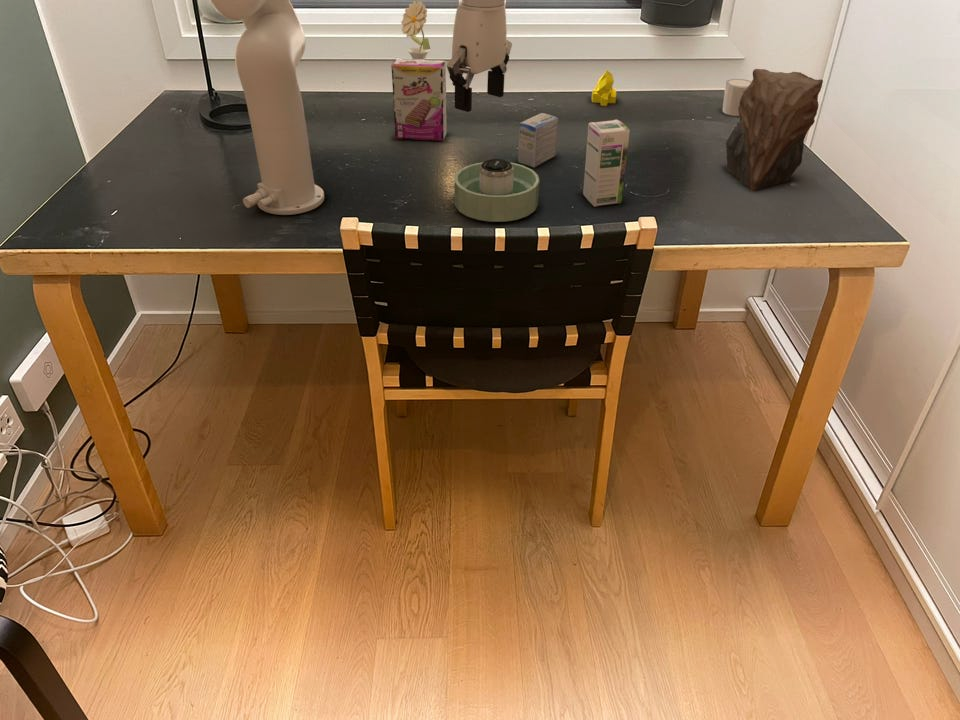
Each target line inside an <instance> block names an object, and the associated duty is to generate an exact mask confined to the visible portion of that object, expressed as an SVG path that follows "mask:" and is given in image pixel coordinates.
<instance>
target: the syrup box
mask: <svg viewBox="0 0 960 720" xmlns="http://www.w3.org/2000/svg"><path fill="white" fill-rule="evenodd" d="M630 134H631V133H630V128H629V127H628V126H627V125H626V124H624V123H623V122H622V121H621V120H618V119H612V120H605V121H604V120H603V121H595V122H594V121H592V122H588V126H587V140H586V151H585V165H584V175H583V176H584V178H583V189H582V190H583V191H582V195H583V196H584V198H585V199H586V200H587V201H588V203H590V204H591V205H592V207H594V208H595V207H596V208H597V207H600V206H607V205H615V204H621V203H622V201H623V191H624V185H625V184H624V183H625V175H626V167H627V159H628V158H627V157H628V148H629V140H630Z"/></svg>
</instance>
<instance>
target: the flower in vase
mask: <svg viewBox="0 0 960 720" xmlns="http://www.w3.org/2000/svg"><path fill="white" fill-rule="evenodd" d="M427 15H428V9H427V7H426V5H425V4H424V3H423V2H422V1H421V0H418V1H417V2H416V1H415V0H414V1H412V3H409V5H408V7H406V8H405V9H404V13H403V15H402V20H401V22H400V24H401V25H402V27H401V32H402V34H403V35H406V38H411V40H412V41H413V42H414V43H416V44H418V45H419V46H413V47H410V48H409V49H407V52H408V54H409V55H410V57H411V59H418V60H426V58H427V55H428V54H429V52H430V50H431V46H430V41H429V38H428V37H426V38H425V33H424V30H423V28H424V26H425V24H426V23H427V19H426V18H427V17H428V16H427ZM420 33H421V34H422V40H421V39H420V38H419V37H418V36H417V35H418V34H420Z"/></svg>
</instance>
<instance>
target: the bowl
mask: <svg viewBox="0 0 960 720" xmlns="http://www.w3.org/2000/svg"><path fill="white" fill-rule="evenodd" d="M483 162H484V161H483ZM483 162H477V163H473V164H468V165H466V166H464V167H462V168H460V169H459V170H458V171H457V172H456V173H455V174H454V177H453V178H454V179H453V180H454V183H453V184H454V207H455V208H456V209H457V211H458V212H460V213H461V214H462V215H464V216H466V217H468V218H471V219H475V220H477V221H482V222H491V223H495V222H496V223H497V222H498V223H499V222H500V223H501V222H512V221H517V220H520V219H523V218H527V217H528V216H530V215H532V213H534V212H535V211H536V210H537V208H538V207H539V197H540V196H539V195H540V178H539V174H537V173H536V172H535V170H534V169H532V168H531V167H530V168H529V166H528V167H527V165H524V164H520V163H515V162H510V163H511V164H512V165H513V167H514V173H513V194H510V195H485V194H479V190H480V188H479V185H480V166H481V164H482V163H483Z"/></svg>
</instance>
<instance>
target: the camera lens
mask: <svg viewBox="0 0 960 720" xmlns="http://www.w3.org/2000/svg"><path fill="white" fill-rule="evenodd" d="M481 163H482V162H481ZM511 163H512V162H510V161H508V160H505V159H502V158H491V159H487V160H485V161H483V163H482V164H481V166H480V185H479V188H480V190H479V194H485V195H510V194H513V173H514V167H513V165H512V164H511Z"/></svg>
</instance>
